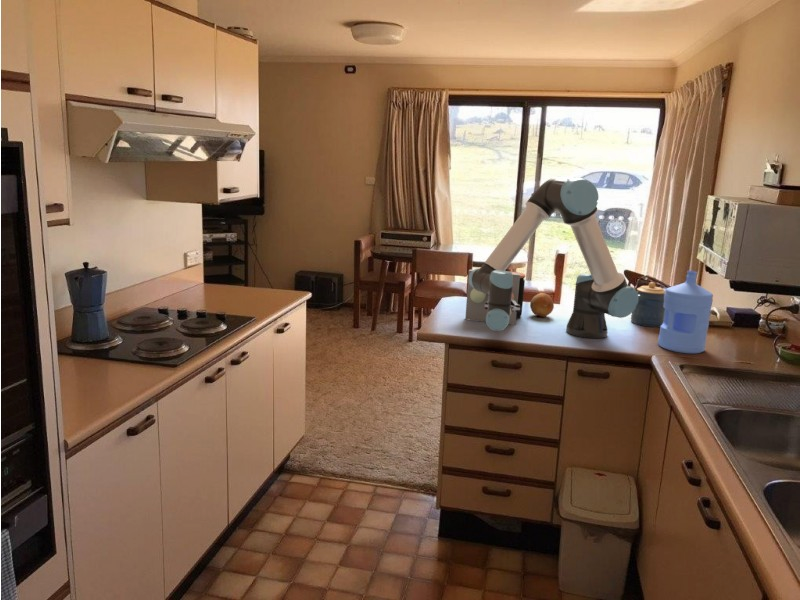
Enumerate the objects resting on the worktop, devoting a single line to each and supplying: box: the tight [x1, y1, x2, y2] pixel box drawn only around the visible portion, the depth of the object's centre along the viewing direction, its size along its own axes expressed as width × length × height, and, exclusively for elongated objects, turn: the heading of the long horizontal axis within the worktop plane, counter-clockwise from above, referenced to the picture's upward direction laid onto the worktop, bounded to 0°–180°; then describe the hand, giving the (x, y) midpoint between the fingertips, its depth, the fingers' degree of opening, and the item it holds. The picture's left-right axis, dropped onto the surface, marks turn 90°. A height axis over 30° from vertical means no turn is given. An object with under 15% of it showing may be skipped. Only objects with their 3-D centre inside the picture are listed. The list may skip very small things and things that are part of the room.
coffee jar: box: [510, 271, 526, 319], centre depth 256 cm, size 11×11×18 cm
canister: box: [630, 281, 666, 328], centre depth 254 cm, size 13×13×18 cm
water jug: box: [657, 270, 714, 354], centre depth 219 cm, size 16×16×28 cm
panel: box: [465, 269, 520, 325], centre depth 245 cm, size 3×20×20 cm, turn 77°
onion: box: [529, 292, 555, 318], centre depth 258 cm, size 10×10×10 cm
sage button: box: [470, 288, 486, 303], centre depth 245 cm, size 8×6×6 cm
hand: (505, 298), depth 237 cm, fingers closed
